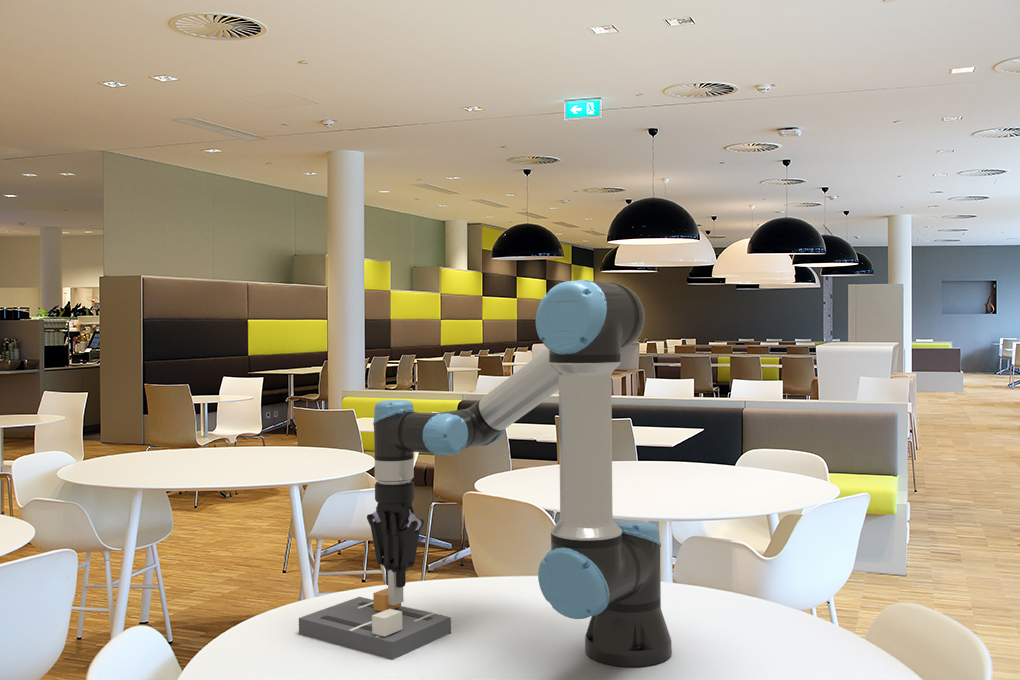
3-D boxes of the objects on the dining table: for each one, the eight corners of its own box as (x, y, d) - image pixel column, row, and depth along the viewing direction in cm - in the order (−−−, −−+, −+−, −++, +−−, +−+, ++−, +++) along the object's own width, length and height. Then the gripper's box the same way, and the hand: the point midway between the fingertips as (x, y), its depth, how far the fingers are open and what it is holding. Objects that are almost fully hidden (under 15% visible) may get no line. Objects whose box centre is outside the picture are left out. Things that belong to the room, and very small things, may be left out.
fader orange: (401, 606, 171) (401, 589, 171) (385, 612, 167) (384, 595, 167) (390, 603, 173) (389, 587, 173) (373, 609, 169) (373, 593, 169)
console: (451, 633, 165) (450, 616, 165) (392, 659, 152) (392, 641, 152) (359, 611, 179) (359, 596, 179) (298, 633, 166) (298, 617, 165)
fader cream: (402, 629, 157) (402, 611, 157) (384, 636, 154) (384, 618, 154) (390, 626, 159) (389, 608, 159) (372, 633, 155) (371, 615, 155)
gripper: (433, 480, 168) (434, 603, 168) (383, 475, 175) (384, 592, 176) (406, 486, 162) (408, 614, 162) (356, 480, 169) (357, 602, 169)
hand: (395, 602), depth 169 cm, fingers closed
